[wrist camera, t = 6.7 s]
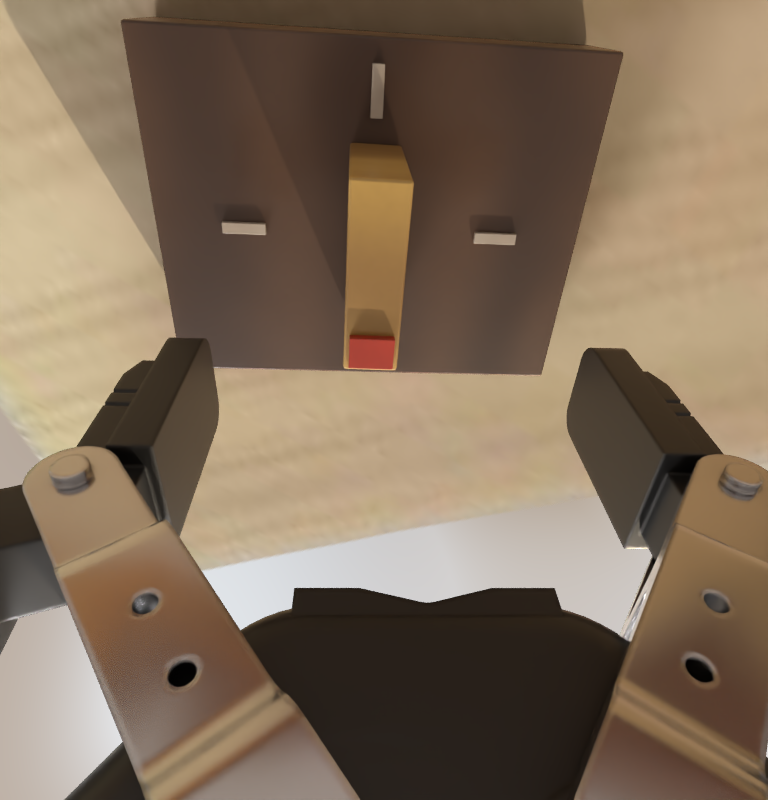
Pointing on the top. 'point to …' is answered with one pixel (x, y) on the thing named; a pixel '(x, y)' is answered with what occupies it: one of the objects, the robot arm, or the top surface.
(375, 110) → the lock plate
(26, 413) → the top surface
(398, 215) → the red-tipped tan block
